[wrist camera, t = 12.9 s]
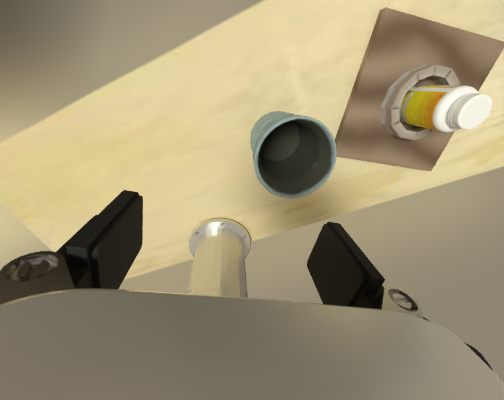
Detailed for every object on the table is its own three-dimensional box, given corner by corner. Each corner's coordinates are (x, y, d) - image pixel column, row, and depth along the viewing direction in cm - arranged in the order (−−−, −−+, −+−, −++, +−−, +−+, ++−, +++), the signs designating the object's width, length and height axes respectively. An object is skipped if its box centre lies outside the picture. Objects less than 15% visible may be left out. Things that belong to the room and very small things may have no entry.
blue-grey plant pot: (249, 103, 33) (258, 112, 23) (312, 108, 35) (348, 119, 24) (245, 166, 38) (251, 197, 28) (300, 168, 39) (326, 199, 29)
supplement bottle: (397, 129, 36) (451, 144, 27) (391, 96, 34) (450, 101, 25) (430, 112, 35) (498, 122, 26) (428, 77, 33) (502, 76, 24)
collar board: (426, 168, 42) (442, 176, 38) (330, 153, 38) (339, 159, 35) (497, 44, 33) (527, 39, 29) (380, 10, 29) (398, 1, 26)
